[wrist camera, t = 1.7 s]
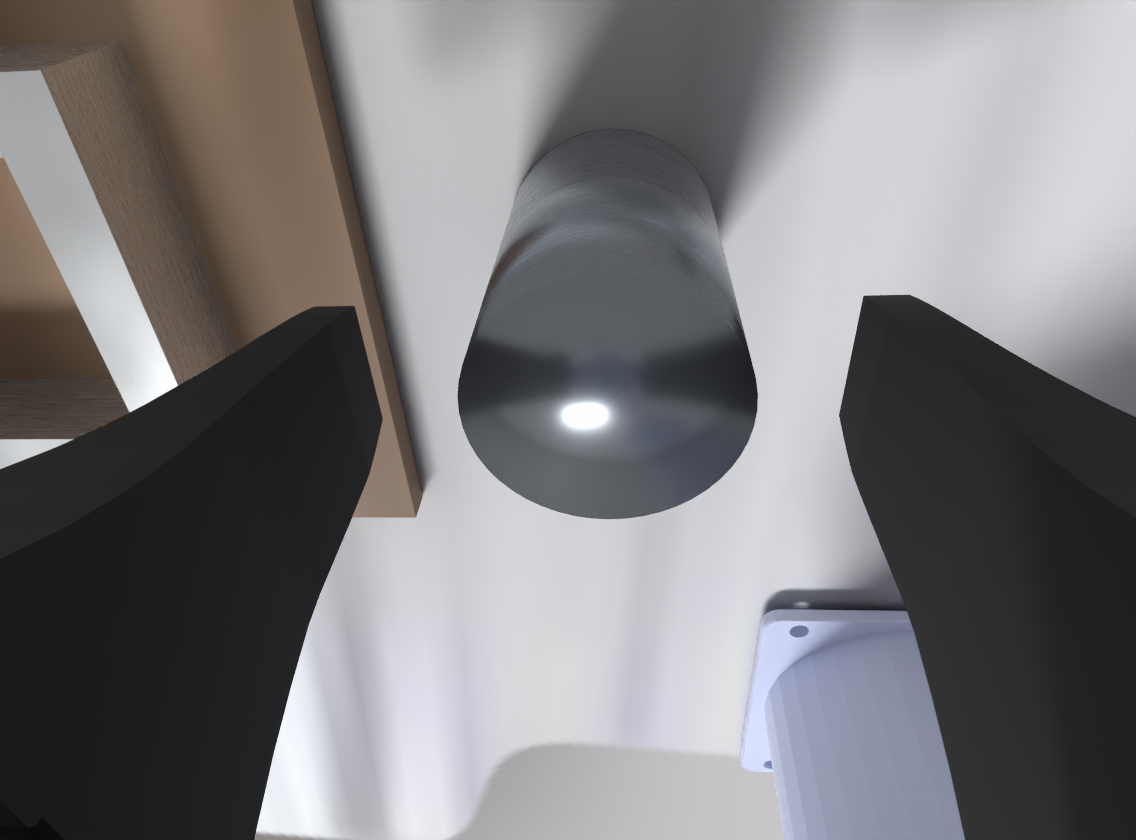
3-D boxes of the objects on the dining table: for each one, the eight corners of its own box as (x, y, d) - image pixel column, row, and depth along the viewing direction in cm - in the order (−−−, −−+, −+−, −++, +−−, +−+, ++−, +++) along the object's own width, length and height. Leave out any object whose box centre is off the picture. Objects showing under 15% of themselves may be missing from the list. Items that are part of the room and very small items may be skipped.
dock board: (264, -208, 11) (242, -212, 10) (422, 495, 19) (415, 517, 19) (-569, -146, 12) (-635, -146, 12) (-81, 494, 21) (-103, 515, 20)
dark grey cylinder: (721, 124, 14) (773, 271, 9) (708, 320, 16) (744, 519, 11) (501, 133, 14) (436, 278, 9) (520, 323, 16) (477, 518, 11)
